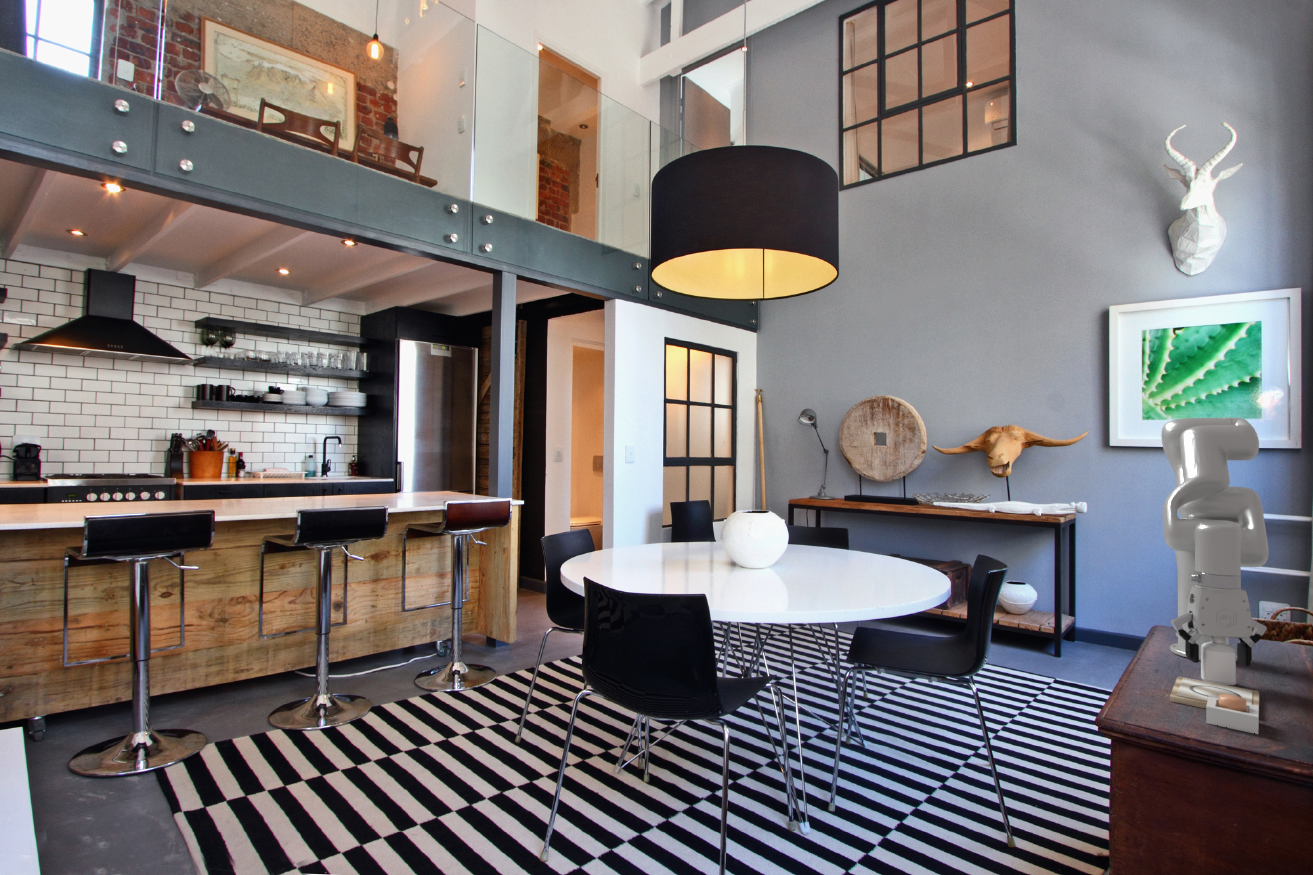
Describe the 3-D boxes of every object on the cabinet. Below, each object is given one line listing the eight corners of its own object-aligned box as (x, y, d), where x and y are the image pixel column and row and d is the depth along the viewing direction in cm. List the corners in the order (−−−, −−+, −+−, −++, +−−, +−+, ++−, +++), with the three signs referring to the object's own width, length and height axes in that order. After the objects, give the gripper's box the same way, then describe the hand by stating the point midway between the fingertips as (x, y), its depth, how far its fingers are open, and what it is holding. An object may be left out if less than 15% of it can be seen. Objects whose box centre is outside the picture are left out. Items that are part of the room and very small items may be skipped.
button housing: (1208, 712, 127) (1208, 696, 127) (1258, 722, 122) (1258, 705, 122) (1206, 723, 121) (1206, 706, 122) (1258, 734, 117) (1258, 716, 117)
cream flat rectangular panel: (1177, 680, 144) (1177, 674, 144) (1259, 696, 135) (1259, 689, 135) (1169, 701, 132) (1169, 694, 132) (1258, 719, 123) (1258, 712, 124)
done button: (1219, 704, 124) (1219, 692, 125) (1246, 710, 122) (1246, 697, 122) (1218, 710, 122) (1218, 697, 122) (1246, 716, 119) (1246, 703, 119)
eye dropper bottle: (1232, 688, 140) (1232, 630, 140) (1198, 680, 144) (1198, 624, 145) (1237, 683, 143) (1237, 627, 143) (1204, 676, 147) (1204, 621, 147)
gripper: (1181, 582, 142) (1181, 664, 142) (1277, 587, 138) (1277, 671, 138) (1162, 576, 149) (1162, 654, 149) (1253, 580, 146) (1253, 660, 145)
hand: (1218, 662), depth 144 cm, fingers open, 9 cm apart
